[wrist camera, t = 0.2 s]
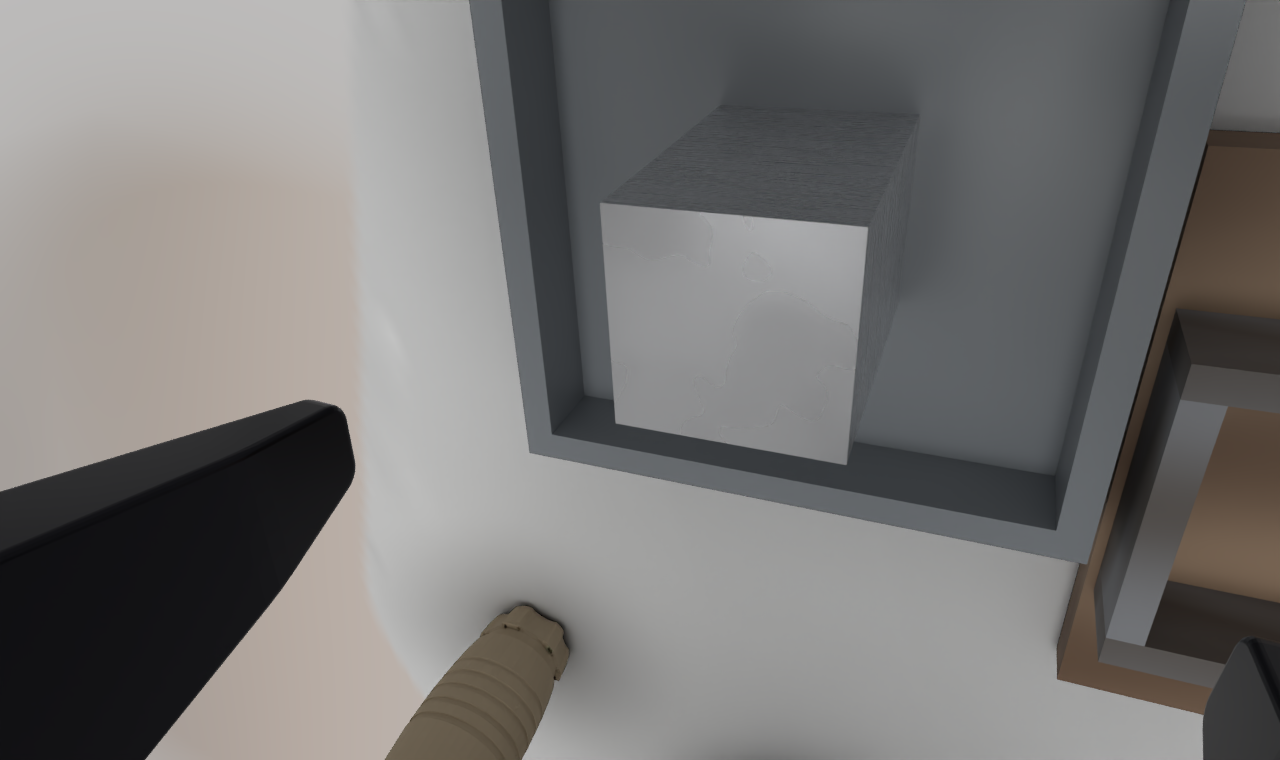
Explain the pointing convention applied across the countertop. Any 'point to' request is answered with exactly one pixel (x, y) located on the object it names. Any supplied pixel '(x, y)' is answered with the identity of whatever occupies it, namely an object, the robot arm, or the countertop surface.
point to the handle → (490, 694)
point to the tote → (935, 240)
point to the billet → (759, 276)
